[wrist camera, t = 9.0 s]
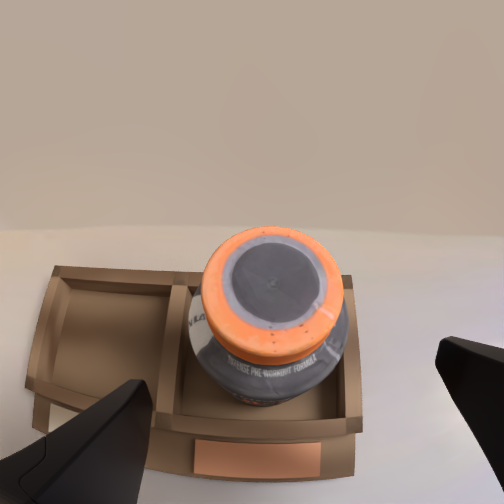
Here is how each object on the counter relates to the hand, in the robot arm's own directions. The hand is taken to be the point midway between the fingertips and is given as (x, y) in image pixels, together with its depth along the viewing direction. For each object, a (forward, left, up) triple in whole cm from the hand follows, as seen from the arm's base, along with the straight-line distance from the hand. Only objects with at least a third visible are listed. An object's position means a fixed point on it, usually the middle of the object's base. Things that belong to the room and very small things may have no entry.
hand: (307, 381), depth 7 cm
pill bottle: (+2, +1, -10) cm, 11 cm away
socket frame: (+1, +7, -11) cm, 13 cm away
